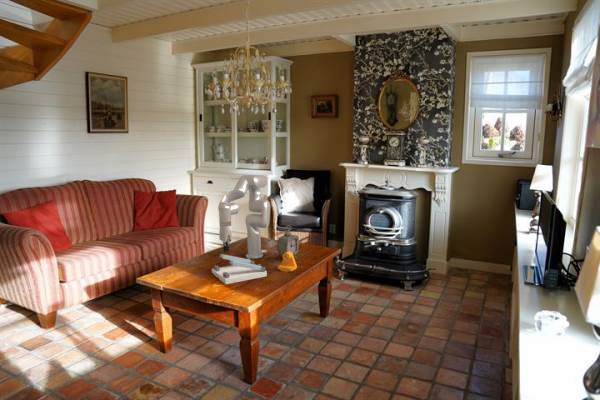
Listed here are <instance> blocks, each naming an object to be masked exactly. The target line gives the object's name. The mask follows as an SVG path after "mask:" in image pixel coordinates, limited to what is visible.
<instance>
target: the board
mask: <svg viewBox="0 0 600 400" xmlns="http://www.w3.org/2000/svg"><path fill="white" fill-rule="evenodd" d="M246 259H248V260H251V258H247V257H246ZM251 264H253V265H256V264H255V260H251ZM257 265H258V266H261V267H262V271H260V270H255V269H250V268H245V267H240V266H235V265H232V264H231V265H227V266H222V267H221V266H218V265H216V264H215V265H213V268H211V274H212V273H213V274H214V275H213V274H212V275H213V276H214V277H216V278H217V277H218V278H219V279H218V278H217V279H218V280H220V281H221V282H222V283H223V284H225V285H229V284H234V283H238V282H245V281H248V280H253V279H254V280H255V279H260V278H264V277H267V276H268V273H267V270H266V266H262V265H261V263H260V264H257Z"/></svg>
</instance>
